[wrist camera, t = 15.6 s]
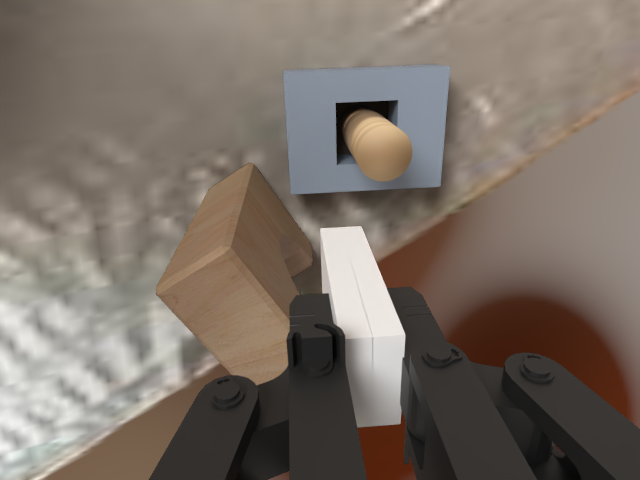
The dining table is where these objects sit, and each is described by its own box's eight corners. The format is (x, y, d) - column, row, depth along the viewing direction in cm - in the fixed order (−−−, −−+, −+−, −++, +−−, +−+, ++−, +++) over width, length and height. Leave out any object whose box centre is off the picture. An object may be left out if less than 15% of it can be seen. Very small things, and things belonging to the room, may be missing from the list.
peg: (338, 105, 42) (356, 127, 31) (380, 103, 42) (413, 124, 31) (339, 147, 43) (357, 183, 32) (379, 145, 43) (411, 180, 33)
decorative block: (312, 245, 47) (328, 372, 29) (268, 271, 48) (256, 409, 30) (253, 158, 43) (229, 243, 25) (206, 188, 44) (149, 291, 26)
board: (283, 70, 40) (283, 72, 36) (435, 64, 41) (450, 66, 37) (290, 182, 44) (290, 194, 41) (427, 175, 45) (440, 186, 41)
